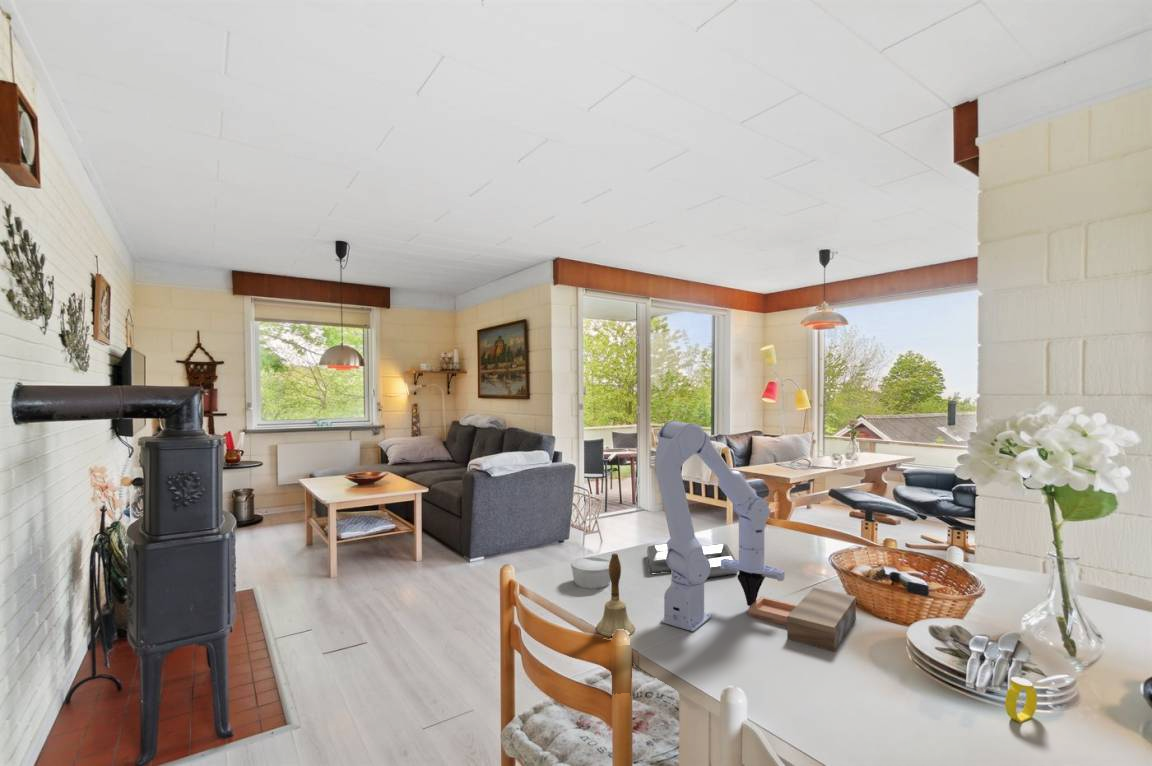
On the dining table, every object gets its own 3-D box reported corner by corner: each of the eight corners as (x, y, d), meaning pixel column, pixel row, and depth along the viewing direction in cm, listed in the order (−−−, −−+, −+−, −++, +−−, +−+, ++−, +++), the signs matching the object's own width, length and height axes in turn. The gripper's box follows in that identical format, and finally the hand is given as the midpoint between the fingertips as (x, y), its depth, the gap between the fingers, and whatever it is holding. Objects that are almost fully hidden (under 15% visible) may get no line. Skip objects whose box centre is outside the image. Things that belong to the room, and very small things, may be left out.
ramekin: (614, 576, 151) (614, 557, 151) (613, 591, 140) (613, 571, 140) (573, 575, 152) (573, 555, 152) (568, 590, 141) (568, 569, 141)
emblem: (670, 529, 180) (754, 545, 163) (670, 546, 180) (754, 563, 163) (623, 550, 157) (716, 570, 140) (623, 569, 157) (716, 591, 140)
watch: (1021, 711, 89) (1023, 673, 90) (1041, 720, 87) (1043, 682, 87) (999, 717, 87) (1001, 679, 87) (1019, 727, 84) (1021, 688, 85)
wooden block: (834, 651, 108) (834, 627, 108) (787, 638, 114) (787, 615, 114) (855, 617, 124) (855, 596, 124) (813, 607, 130) (813, 587, 130)
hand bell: (588, 631, 117) (588, 556, 117) (608, 617, 124) (608, 546, 124) (623, 641, 113) (623, 563, 113) (641, 626, 119) (641, 552, 119)
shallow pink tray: (804, 630, 118) (804, 621, 118) (748, 615, 125) (748, 607, 125) (814, 617, 124) (814, 608, 124) (761, 604, 131) (761, 596, 131)
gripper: (788, 548, 127) (788, 606, 127) (728, 537, 136) (728, 592, 136) (778, 555, 122) (778, 617, 122) (716, 543, 131) (716, 601, 131)
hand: (751, 604), depth 129 cm, fingers closed
